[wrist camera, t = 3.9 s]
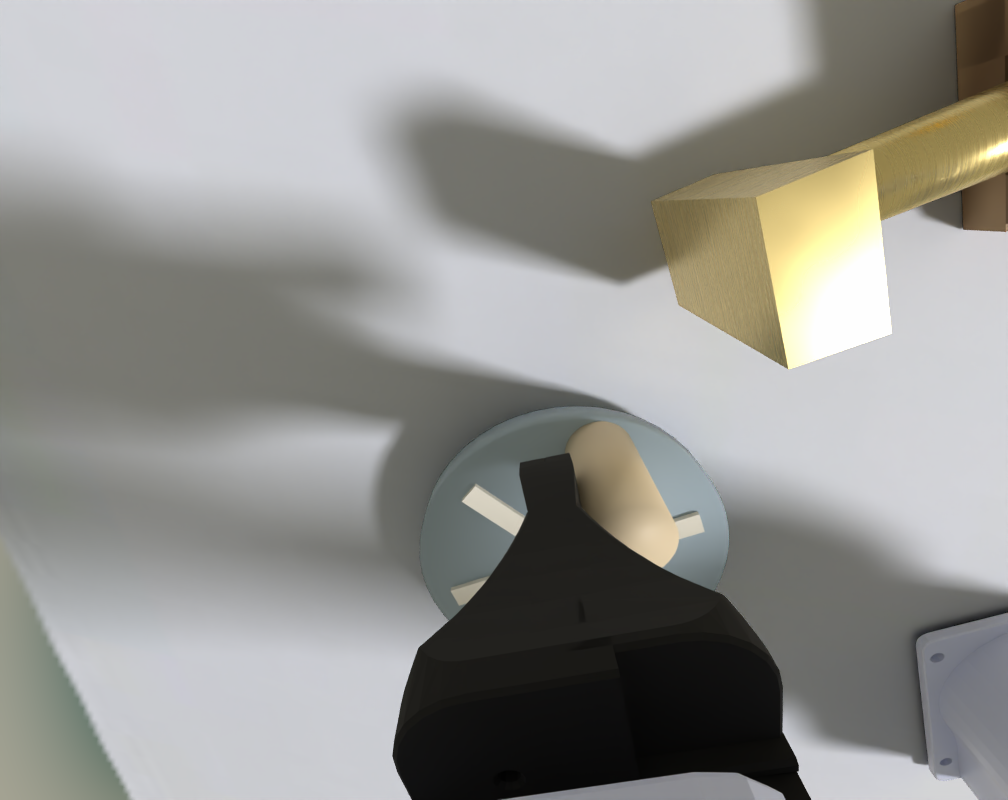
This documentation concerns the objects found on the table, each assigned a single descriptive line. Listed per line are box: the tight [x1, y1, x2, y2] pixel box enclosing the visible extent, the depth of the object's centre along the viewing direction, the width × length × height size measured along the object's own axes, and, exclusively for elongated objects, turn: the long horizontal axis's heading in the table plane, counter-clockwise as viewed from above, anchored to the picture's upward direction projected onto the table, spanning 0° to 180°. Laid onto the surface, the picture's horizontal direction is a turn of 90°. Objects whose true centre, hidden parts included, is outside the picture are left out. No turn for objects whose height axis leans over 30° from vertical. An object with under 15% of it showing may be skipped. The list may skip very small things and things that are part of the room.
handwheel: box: [420, 406, 729, 620], centre depth 14 cm, size 10×10×5 cm
